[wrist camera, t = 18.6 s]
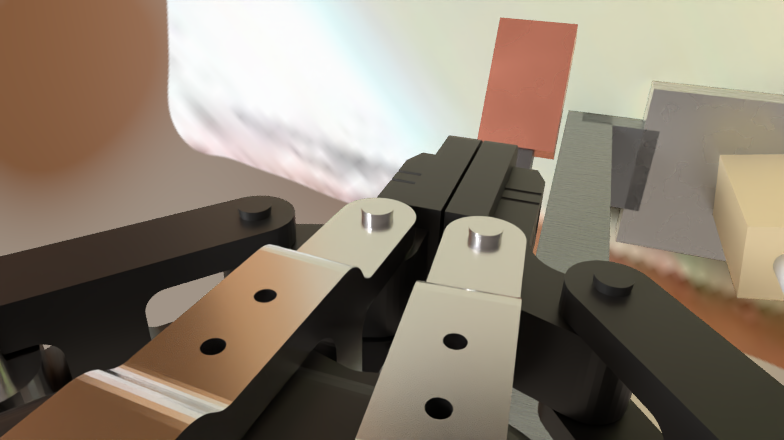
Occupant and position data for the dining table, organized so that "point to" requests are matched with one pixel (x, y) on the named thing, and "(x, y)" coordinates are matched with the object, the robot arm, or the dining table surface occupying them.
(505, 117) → the salmon red rectangular bar
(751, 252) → the beige tall block
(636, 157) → the press frame
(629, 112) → the dining table surface
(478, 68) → the dining table surface
